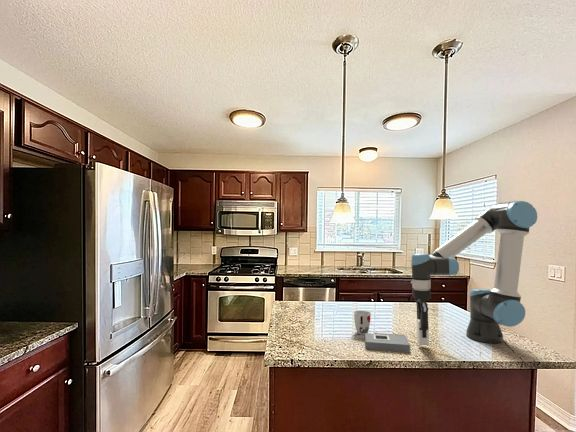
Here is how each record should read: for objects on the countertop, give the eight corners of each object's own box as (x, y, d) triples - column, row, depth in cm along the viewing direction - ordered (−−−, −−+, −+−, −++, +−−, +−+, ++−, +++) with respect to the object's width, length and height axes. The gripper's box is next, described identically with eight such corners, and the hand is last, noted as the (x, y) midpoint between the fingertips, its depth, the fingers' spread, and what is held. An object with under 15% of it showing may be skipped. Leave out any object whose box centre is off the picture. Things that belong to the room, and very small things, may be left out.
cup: (358, 336, 158) (358, 315, 159) (351, 331, 166) (351, 311, 167) (373, 334, 160) (373, 314, 161) (365, 329, 168) (365, 310, 169)
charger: (427, 342, 145) (426, 319, 146) (429, 345, 141) (428, 321, 142) (417, 341, 146) (416, 318, 146) (419, 345, 142) (418, 321, 143)
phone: (404, 337, 159) (404, 334, 159) (407, 342, 152) (407, 339, 152) (374, 335, 162) (374, 332, 162) (375, 340, 155) (375, 337, 155)
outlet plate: (405, 342, 150) (405, 335, 150) (409, 352, 138) (409, 344, 138) (365, 339, 153) (364, 332, 153) (365, 348, 142) (365, 341, 142)
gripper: (409, 285, 154) (410, 336, 153) (415, 292, 137) (417, 349, 136) (426, 285, 152) (427, 337, 151) (435, 293, 136) (437, 350, 135)
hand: (423, 342), depth 144 cm, fingers closed on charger, 4 cm apart
